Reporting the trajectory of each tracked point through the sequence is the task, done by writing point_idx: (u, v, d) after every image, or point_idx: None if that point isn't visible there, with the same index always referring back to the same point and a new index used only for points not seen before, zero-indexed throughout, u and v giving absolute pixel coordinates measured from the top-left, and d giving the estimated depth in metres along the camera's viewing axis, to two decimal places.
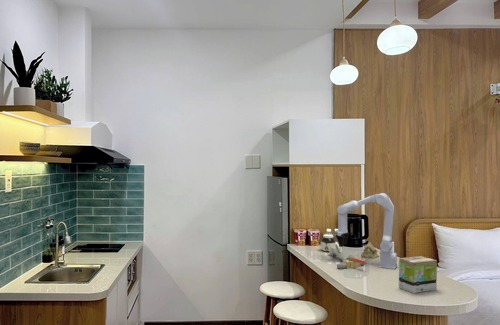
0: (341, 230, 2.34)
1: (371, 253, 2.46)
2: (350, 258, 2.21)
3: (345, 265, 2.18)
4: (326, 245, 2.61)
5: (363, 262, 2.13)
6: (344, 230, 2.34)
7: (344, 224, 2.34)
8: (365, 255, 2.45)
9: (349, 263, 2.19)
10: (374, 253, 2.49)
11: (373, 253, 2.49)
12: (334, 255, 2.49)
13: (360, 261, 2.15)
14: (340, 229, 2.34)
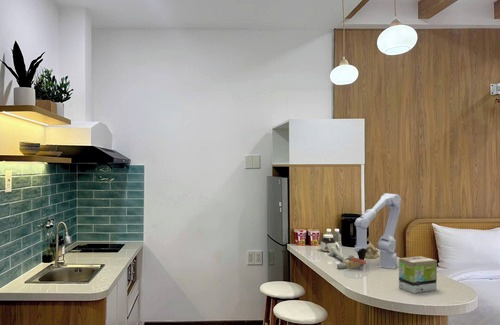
0: (359, 245, 2.16)
1: (372, 253, 2.46)
2: (350, 258, 2.21)
3: (345, 265, 2.18)
4: (326, 245, 2.61)
5: (363, 262, 2.13)
6: (363, 245, 2.15)
7: (363, 239, 2.15)
8: (366, 255, 2.44)
9: (349, 263, 2.19)
10: (375, 253, 2.49)
11: (374, 253, 2.49)
12: (334, 255, 2.49)
13: (360, 261, 2.15)
14: (358, 244, 2.16)
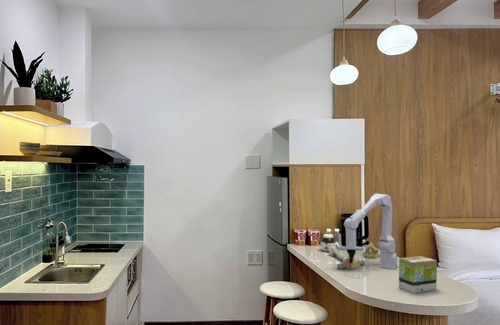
0: (346, 245, 2.16)
1: (373, 253, 2.46)
2: None
3: (345, 265, 2.18)
4: (326, 245, 2.61)
5: None
6: (347, 246, 2.14)
7: (347, 239, 2.14)
8: (367, 255, 2.44)
9: (349, 263, 2.19)
10: (376, 253, 2.49)
11: (375, 253, 2.49)
12: (334, 255, 2.49)
13: None
14: (346, 244, 2.17)
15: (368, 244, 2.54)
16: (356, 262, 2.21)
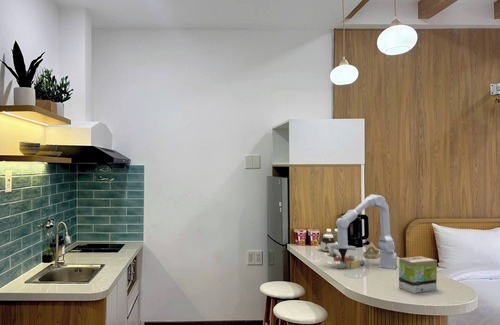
0: None
1: (374, 253, 2.46)
2: None
3: (345, 265, 2.18)
4: (326, 245, 2.61)
5: None
6: (338, 244, 2.19)
7: (338, 238, 2.19)
8: (368, 255, 2.44)
9: (349, 263, 2.19)
10: (376, 253, 2.49)
11: (375, 253, 2.49)
12: (334, 255, 2.49)
13: None
14: None
15: None
16: (356, 262, 2.21)
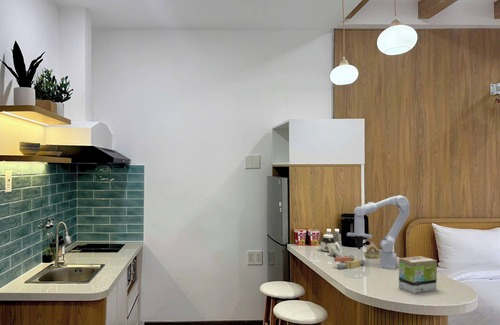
0: None
1: (375, 253, 2.46)
2: None
3: (345, 265, 2.18)
4: (326, 245, 2.61)
5: None
6: (355, 232, 2.27)
7: (355, 226, 2.27)
8: (370, 255, 2.44)
9: (349, 263, 2.19)
10: (377, 253, 2.49)
11: (376, 253, 2.49)
12: (334, 255, 2.48)
13: None
14: None
15: None
16: (356, 262, 2.21)
